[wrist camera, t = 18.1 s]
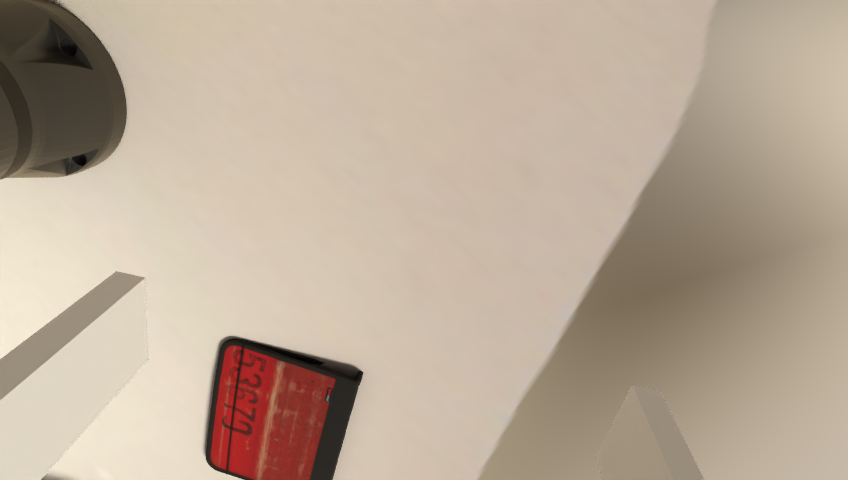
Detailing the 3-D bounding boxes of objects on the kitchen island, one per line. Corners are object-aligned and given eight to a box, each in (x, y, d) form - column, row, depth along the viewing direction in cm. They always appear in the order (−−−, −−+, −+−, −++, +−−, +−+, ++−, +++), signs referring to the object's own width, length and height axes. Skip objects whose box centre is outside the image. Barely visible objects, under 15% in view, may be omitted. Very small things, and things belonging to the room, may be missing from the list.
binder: (360, 382, 54) (325, 508, 63) (365, 368, 56) (330, 492, 65) (216, 339, 54) (201, 471, 63) (226, 327, 56) (211, 456, 65)
